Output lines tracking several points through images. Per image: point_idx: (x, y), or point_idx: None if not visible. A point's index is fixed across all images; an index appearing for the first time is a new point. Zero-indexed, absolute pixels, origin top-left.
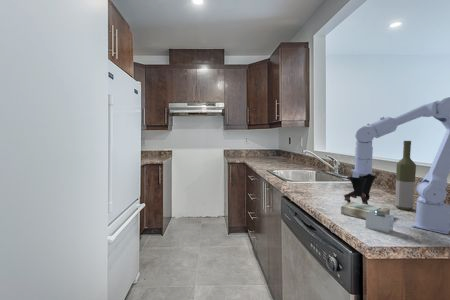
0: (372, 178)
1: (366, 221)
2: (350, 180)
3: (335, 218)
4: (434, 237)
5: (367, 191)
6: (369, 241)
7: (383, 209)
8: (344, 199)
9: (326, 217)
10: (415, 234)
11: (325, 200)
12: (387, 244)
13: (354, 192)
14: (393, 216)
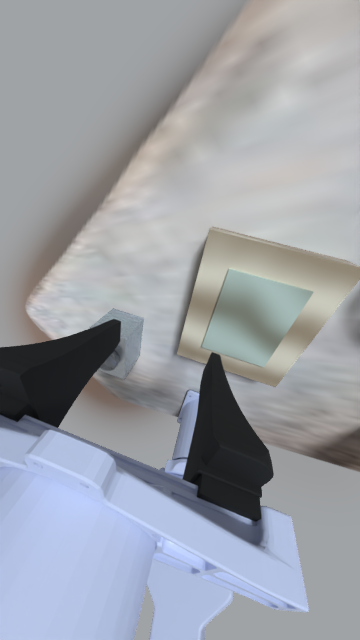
0: (185, 472)
1: (103, 317)
2: (14, 347)
3: (133, 221)
4: (149, 400)
5: (203, 376)
6: (43, 313)
7: (249, 369)
8: None
9: (120, 184)
10: (143, 381)
11: None
12: (57, 336)
13: (100, 324)
14: (123, 377)
